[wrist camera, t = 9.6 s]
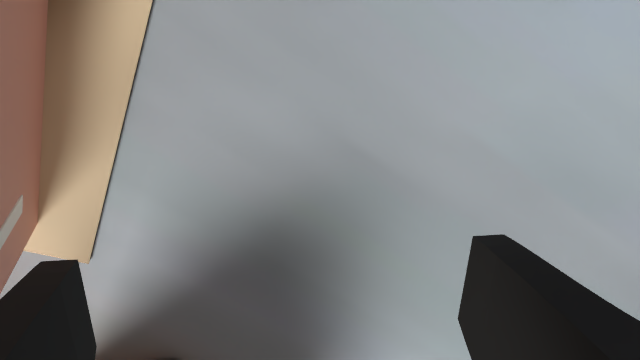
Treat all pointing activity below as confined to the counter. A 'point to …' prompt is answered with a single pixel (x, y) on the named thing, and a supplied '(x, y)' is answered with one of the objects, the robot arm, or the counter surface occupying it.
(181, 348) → the counter surface
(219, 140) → the counter surface
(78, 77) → the cork mat
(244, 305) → the counter surface
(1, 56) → the pink block
